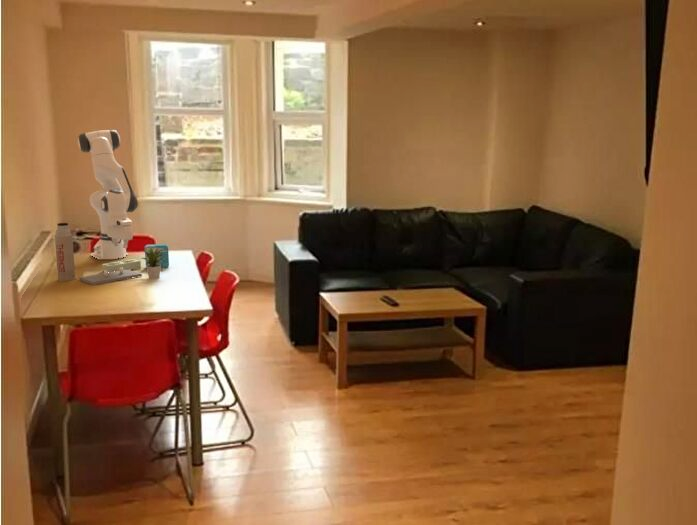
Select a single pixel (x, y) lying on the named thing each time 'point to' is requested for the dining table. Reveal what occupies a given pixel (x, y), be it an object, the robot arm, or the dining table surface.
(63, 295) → the dining table surface
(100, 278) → the boss board
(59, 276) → the thermos bottle
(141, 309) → the dining table surface
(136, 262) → the cream rectangular bar
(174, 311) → the dining table surface
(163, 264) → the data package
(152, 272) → the house plant
